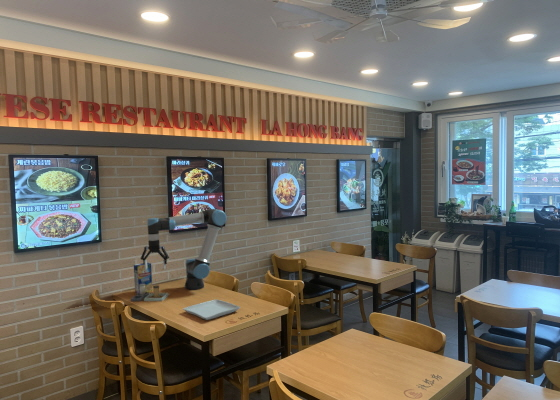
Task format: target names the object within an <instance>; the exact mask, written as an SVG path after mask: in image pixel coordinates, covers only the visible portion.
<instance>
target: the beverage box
mask: <svg viewBox="0 0 560 400" xmlns="http://www.w3.org/2000/svg"><path fill="white" fill-rule="evenodd" d="M152 275H153V274H152V263H151V262H147V269H145V265H144V264H143V262H141V263H137V264H133V278H134V282H133V283H134V293H135V294H136V295H137V294H138V293H139V292H140V289H139V284H142V283H144V284H145V292H149V293H150V292H151V293H152V292H153V276H152Z"/></svg>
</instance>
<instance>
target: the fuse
mask: <svg viewBox="0 0 560 400" xmlns="http://www.w3.org/2000/svg"><path fill="white" fill-rule="evenodd" d="M139 289H140V295H145V284H144V283H142V284H139Z"/></svg>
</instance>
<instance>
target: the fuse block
mask: <svg viewBox="0 0 560 400" xmlns="http://www.w3.org/2000/svg"><path fill="white" fill-rule="evenodd" d="M149 294H150V292H145V295H140V292H139V293H138V294H137V293H136V294H134V296H132V297H130V302H142V301H144V298H145V297H146V296H148V295H149Z"/></svg>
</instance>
